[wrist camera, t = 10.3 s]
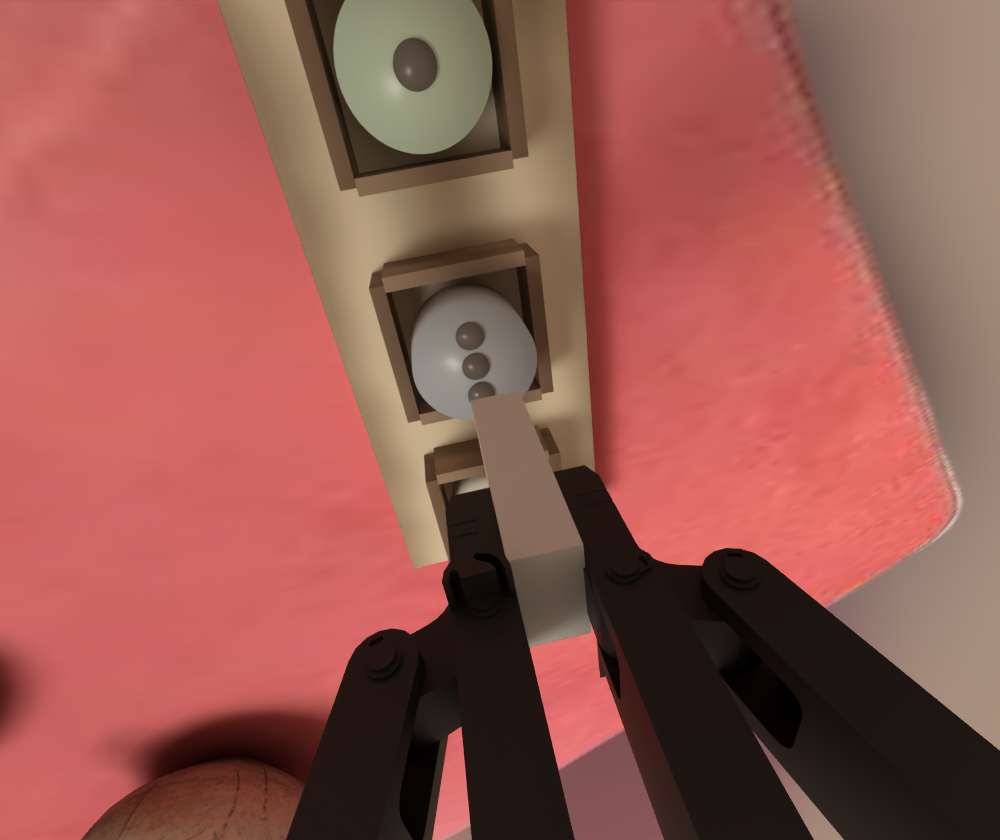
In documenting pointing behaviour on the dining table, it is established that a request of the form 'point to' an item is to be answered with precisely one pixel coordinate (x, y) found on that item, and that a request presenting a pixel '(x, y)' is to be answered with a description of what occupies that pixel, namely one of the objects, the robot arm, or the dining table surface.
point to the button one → (413, 70)
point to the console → (431, 234)
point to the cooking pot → (206, 804)
